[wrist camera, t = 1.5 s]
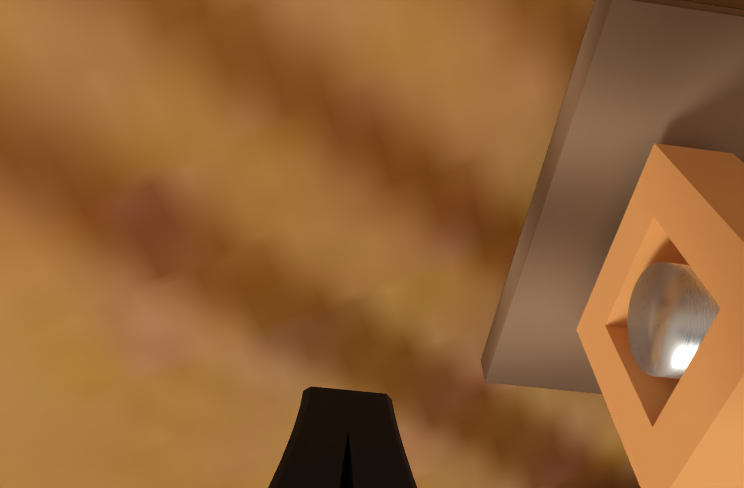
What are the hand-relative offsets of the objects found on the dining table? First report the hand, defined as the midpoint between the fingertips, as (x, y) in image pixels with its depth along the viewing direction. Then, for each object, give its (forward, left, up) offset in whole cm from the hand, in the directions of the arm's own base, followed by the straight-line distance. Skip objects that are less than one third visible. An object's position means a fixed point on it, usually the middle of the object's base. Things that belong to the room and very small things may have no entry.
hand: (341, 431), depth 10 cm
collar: (0, -8, -7) cm, 11 cm away
